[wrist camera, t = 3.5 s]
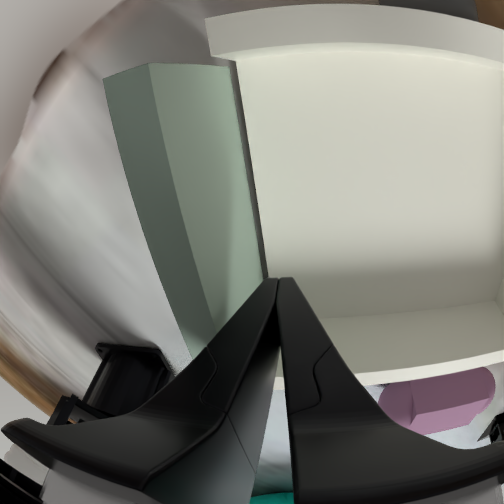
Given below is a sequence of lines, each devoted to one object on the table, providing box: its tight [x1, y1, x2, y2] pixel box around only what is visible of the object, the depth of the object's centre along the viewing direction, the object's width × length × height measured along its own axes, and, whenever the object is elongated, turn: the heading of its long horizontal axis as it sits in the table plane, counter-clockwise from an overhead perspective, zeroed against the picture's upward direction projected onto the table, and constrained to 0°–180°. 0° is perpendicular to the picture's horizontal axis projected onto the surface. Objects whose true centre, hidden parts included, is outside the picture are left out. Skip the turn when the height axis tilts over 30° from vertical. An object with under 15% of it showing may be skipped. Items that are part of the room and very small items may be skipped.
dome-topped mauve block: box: [378, 367, 495, 435], centre depth 19 cm, size 11×4×4 cm, turn 98°
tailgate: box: [103, 63, 263, 359], centre depth 11 cm, size 1×13×8 cm, turn 8°
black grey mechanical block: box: [478, 413, 504, 444], centre depth 26 cm, size 12×7×5 cm, turn 17°
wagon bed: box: [205, 0, 504, 390], centre depth 11 cm, size 16×19×5 cm
